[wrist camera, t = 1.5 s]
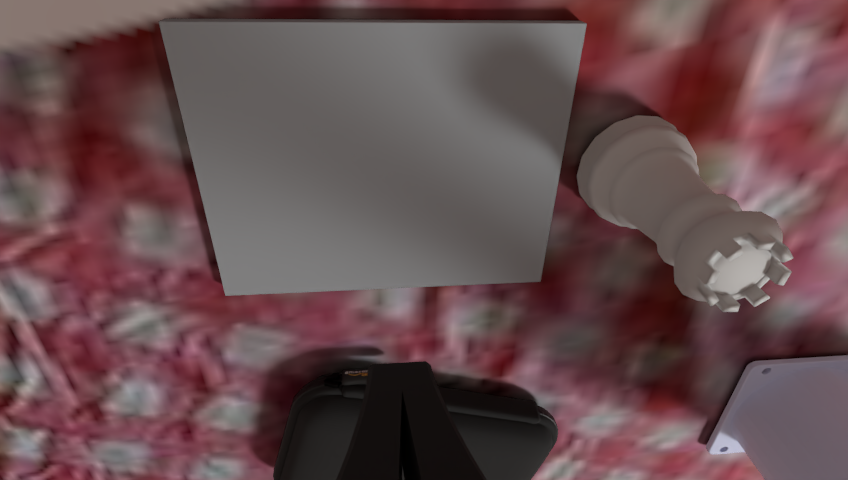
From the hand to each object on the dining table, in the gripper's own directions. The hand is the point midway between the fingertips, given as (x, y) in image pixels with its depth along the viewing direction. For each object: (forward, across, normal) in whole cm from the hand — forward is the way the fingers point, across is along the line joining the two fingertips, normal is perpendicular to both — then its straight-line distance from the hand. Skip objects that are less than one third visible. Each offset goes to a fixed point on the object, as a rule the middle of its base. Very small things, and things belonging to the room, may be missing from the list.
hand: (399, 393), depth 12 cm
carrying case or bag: (+11, -2, +15) cm, 19 cm away
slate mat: (+10, 0, -1) cm, 10 cm away
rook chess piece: (+11, -10, -1) cm, 15 cm away
